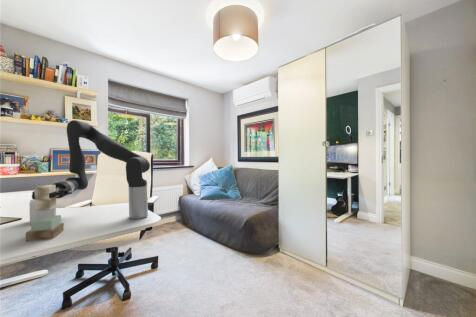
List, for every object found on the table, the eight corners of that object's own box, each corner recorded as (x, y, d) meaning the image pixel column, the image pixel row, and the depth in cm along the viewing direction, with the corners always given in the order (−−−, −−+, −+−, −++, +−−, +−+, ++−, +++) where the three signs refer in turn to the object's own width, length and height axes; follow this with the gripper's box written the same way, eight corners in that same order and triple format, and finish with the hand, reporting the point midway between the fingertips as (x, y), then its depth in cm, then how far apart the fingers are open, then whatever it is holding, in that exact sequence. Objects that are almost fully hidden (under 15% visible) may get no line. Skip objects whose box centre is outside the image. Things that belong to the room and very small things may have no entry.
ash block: (56, 206, 91) (55, 184, 91) (50, 210, 86) (49, 186, 86) (42, 207, 90) (41, 185, 89) (35, 211, 85) (34, 187, 84)
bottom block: (63, 231, 94) (63, 222, 94) (53, 239, 85) (53, 230, 85) (39, 233, 91) (38, 225, 91) (25, 242, 82) (25, 232, 82)
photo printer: (57, 217, 112) (56, 195, 112) (55, 219, 109) (54, 196, 108) (31, 220, 107) (30, 197, 106) (28, 223, 103) (27, 199, 103)
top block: (61, 223, 92) (60, 215, 92) (51, 229, 86) (51, 220, 85) (42, 225, 90) (42, 216, 90) (31, 231, 84) (30, 221, 84)
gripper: (43, 182, 99) (19, 188, 83) (79, 180, 103) (62, 186, 87) (44, 197, 99) (20, 206, 83) (79, 195, 104) (63, 203, 88)
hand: (42, 196), depth 85 cm, fingers closed on ash block, 5 cm apart
